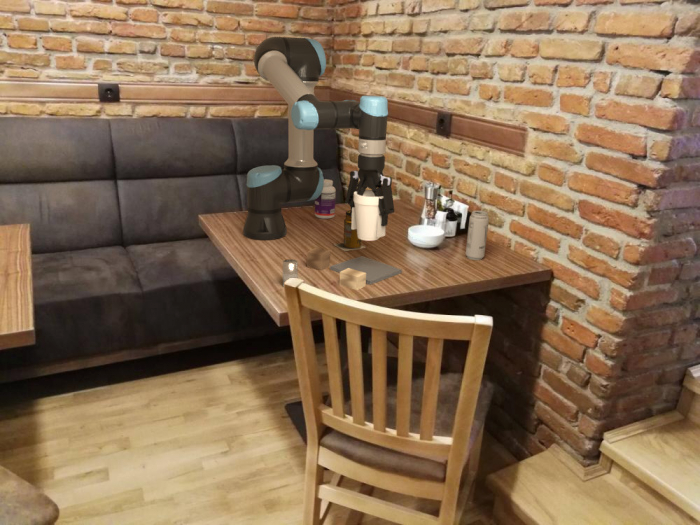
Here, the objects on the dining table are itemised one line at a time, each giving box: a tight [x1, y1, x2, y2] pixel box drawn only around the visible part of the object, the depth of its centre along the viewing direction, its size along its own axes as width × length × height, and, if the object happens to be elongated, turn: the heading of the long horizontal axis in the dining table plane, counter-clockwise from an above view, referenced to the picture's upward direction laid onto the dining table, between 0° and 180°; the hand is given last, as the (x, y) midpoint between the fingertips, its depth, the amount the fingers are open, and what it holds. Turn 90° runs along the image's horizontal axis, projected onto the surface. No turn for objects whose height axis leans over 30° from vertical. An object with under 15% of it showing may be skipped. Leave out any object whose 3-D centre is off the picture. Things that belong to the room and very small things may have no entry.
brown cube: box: [306, 246, 331, 271], centre depth 166 cm, size 5×5×5 cm
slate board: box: [329, 255, 403, 286], centre depth 165 cm, size 16×14×1 cm
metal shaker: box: [282, 258, 299, 288], centre depth 151 cm, size 4×4×7 cm
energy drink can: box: [465, 210, 490, 261], centre depth 177 cm, size 6×6×15 cm
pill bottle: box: [314, 178, 337, 220], centre depth 217 cm, size 8×8×14 cm
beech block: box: [339, 268, 367, 291], centre depth 154 cm, size 6×4×4 cm, turn 55°
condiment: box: [333, 209, 367, 252], centre depth 184 cm, size 7×8×12 cm
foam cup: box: [353, 189, 384, 242], centre depth 159 cm, size 10×9×13 cm
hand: (367, 232), depth 161 cm, fingers closed on foam cup, 9 cm apart
